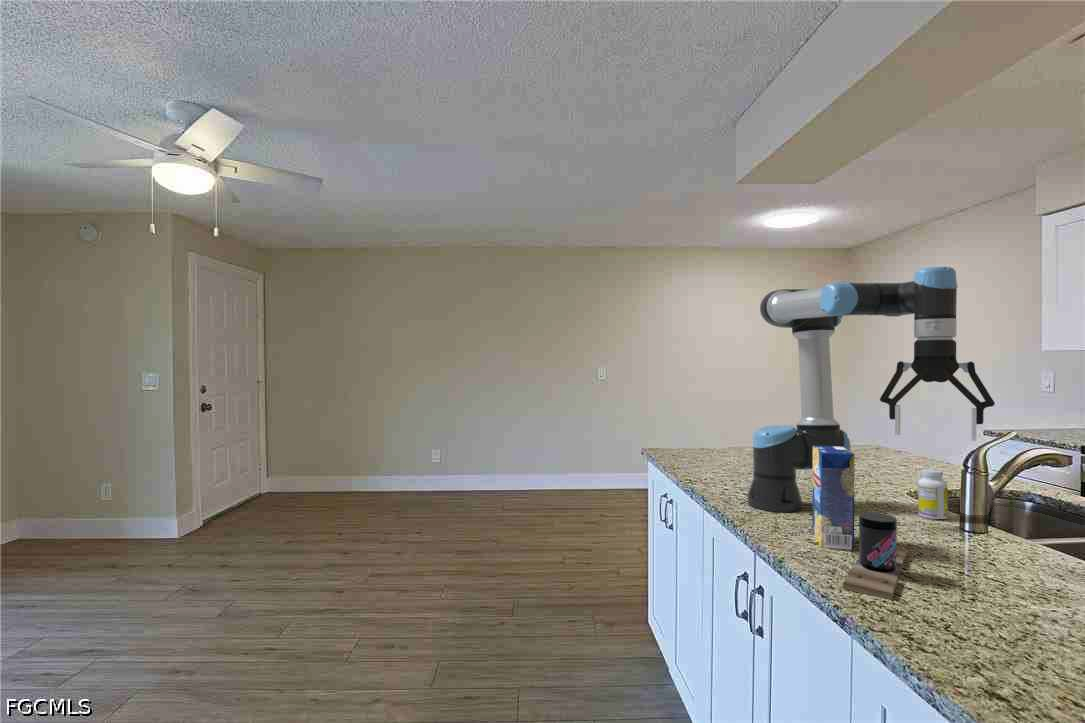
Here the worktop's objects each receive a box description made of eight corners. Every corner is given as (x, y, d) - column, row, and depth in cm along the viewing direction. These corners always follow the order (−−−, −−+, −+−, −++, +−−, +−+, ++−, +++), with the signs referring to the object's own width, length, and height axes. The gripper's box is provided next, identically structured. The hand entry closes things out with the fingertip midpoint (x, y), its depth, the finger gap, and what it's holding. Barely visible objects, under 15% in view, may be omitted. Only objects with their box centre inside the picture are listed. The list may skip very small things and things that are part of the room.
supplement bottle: (938, 514, 156) (938, 468, 156) (953, 521, 150) (953, 473, 150) (912, 513, 157) (913, 467, 157) (926, 520, 151) (926, 472, 150)
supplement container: (858, 569, 114) (858, 518, 114) (859, 558, 120) (859, 510, 120) (897, 576, 111) (897, 523, 111) (896, 564, 117) (896, 515, 117)
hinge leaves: (892, 599, 102) (892, 592, 102) (843, 588, 107) (843, 581, 107) (906, 555, 124) (906, 549, 124) (865, 548, 129) (865, 542, 129)
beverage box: (842, 535, 139) (842, 446, 138) (854, 550, 128) (854, 454, 128) (812, 533, 140) (812, 445, 140) (821, 547, 130) (821, 452, 130)
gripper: (866, 340, 126) (866, 434, 126) (1010, 337, 111) (1010, 444, 111) (871, 340, 132) (871, 430, 132) (1008, 338, 117) (1008, 439, 117)
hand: (934, 437), depth 122 cm, fingers open, 13 cm apart
